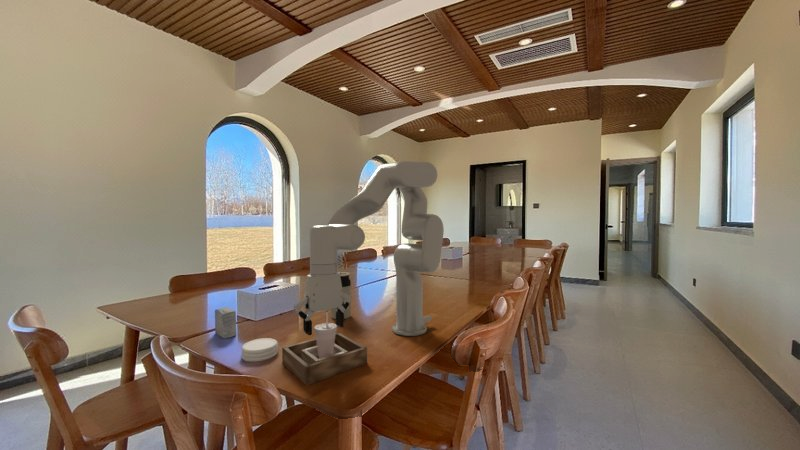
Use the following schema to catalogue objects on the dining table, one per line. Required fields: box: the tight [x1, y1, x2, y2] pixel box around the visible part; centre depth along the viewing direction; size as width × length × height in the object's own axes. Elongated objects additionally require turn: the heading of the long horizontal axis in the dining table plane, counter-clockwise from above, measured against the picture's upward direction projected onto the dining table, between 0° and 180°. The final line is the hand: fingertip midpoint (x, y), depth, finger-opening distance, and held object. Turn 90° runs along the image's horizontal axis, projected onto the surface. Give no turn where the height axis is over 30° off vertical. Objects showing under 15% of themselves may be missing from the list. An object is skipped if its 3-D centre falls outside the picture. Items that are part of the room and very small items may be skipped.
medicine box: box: [214, 306, 237, 339], centre depth 114 cm, size 8×4×9 cm, turn 47°
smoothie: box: [313, 310, 338, 359], centre depth 92 cm, size 6×6×14 cm
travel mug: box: [330, 271, 352, 320], centre depth 133 cm, size 8×8×18 cm
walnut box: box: [281, 331, 368, 386], centre depth 92 cm, size 18×16×4 cm
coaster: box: [241, 337, 279, 363], centre depth 97 cm, size 10×10×4 cm
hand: (324, 329), depth 91 cm, fingers open, 9 cm apart
